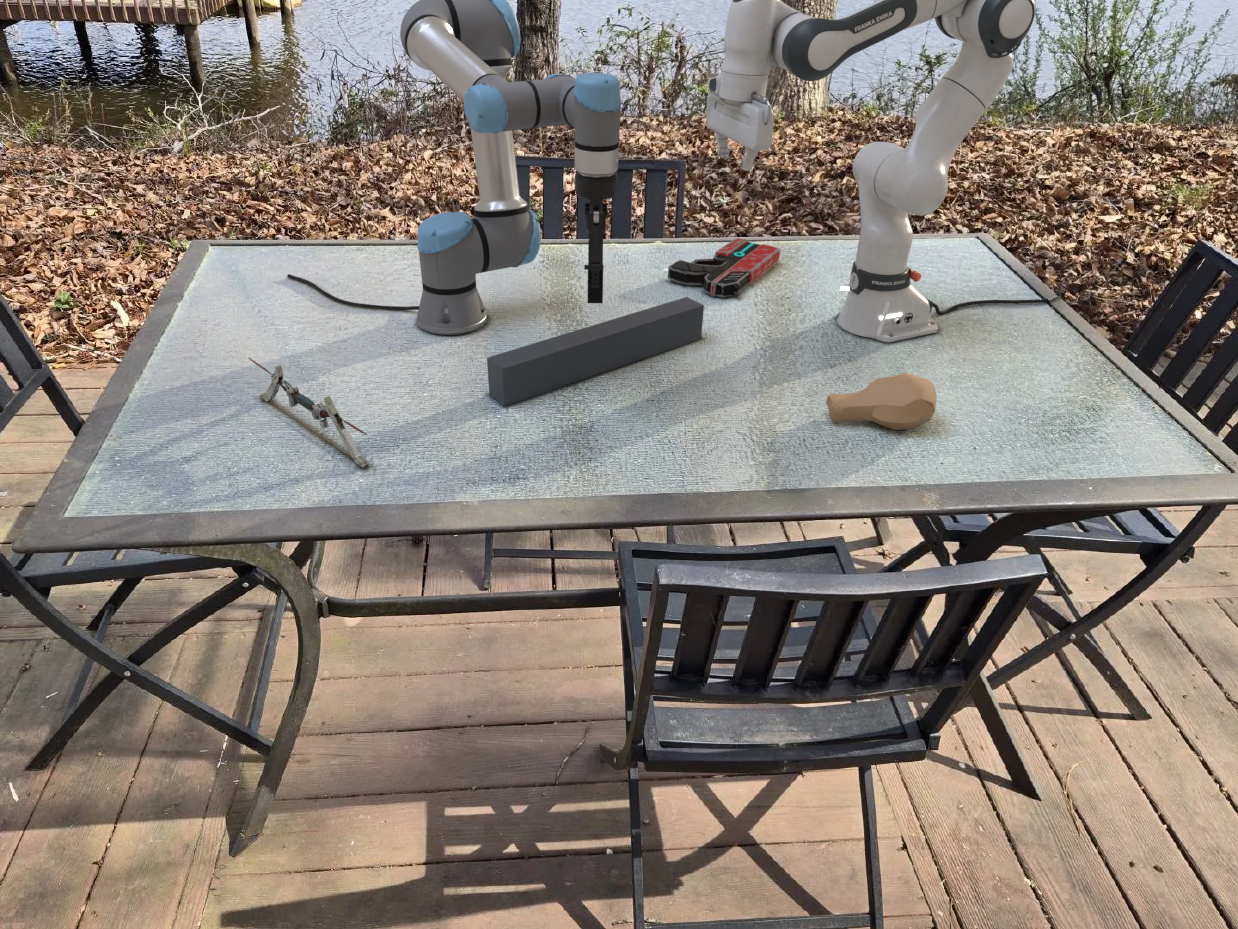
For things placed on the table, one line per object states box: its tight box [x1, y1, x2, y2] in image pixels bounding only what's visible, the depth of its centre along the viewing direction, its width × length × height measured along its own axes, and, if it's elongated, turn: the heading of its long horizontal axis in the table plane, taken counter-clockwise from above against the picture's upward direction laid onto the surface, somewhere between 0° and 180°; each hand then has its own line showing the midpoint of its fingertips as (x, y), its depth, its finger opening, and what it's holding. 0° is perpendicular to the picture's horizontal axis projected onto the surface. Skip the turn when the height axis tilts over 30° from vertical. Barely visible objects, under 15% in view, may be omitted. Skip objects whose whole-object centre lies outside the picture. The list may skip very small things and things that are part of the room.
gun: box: [667, 237, 781, 299], centre depth 224 cm, size 4×31×19 cm
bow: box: [247, 356, 370, 468], centre depth 154 cm, size 39×2×10 cm, turn 47°
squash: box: [825, 372, 938, 431], centre depth 163 cm, size 11×20×9 cm, turn 90°
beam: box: [486, 296, 705, 407], centre depth 179 cm, size 51×6×8 cm, turn 128°
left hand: (595, 287), depth 163 cm, fingers open, 13 cm apart
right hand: (734, 163), depth 172 cm, fingers open, 8 cm apart
